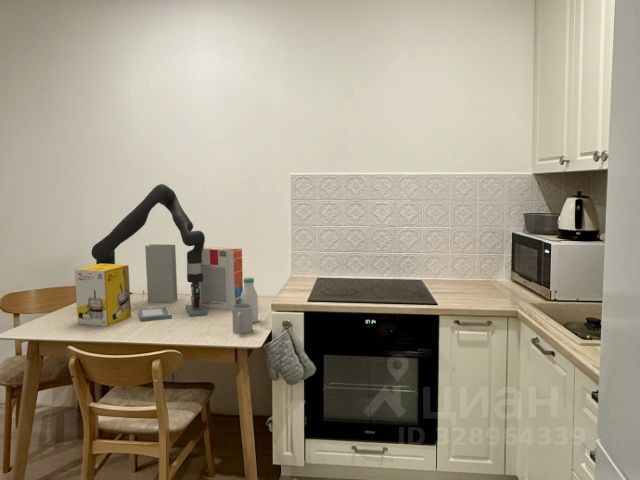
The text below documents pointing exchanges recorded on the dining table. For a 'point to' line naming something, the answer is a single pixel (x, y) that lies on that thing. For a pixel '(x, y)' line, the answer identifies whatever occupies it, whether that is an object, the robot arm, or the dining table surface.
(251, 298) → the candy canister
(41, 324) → the dining table surface
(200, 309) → the blue-grey two-tone fixture
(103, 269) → the packaging box
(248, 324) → the mug
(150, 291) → the plain grey carton
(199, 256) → the robot arm
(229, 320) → the dining table surface
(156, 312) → the blue-grey display panel
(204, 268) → the pasta box
